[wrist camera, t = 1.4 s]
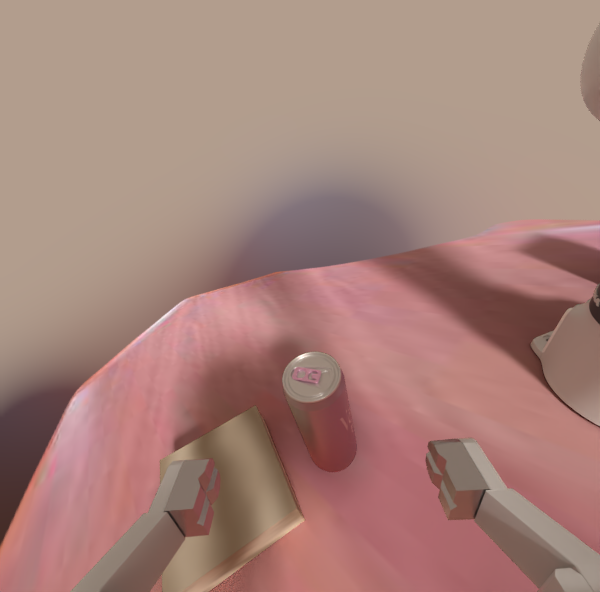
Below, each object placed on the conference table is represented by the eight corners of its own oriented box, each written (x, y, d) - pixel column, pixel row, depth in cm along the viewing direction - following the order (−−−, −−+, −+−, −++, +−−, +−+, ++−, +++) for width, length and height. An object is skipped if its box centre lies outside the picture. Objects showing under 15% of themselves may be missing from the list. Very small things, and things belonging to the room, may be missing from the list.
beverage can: (317, 419, 36) (292, 346, 27) (360, 429, 34) (348, 353, 25) (303, 466, 32) (269, 396, 23) (352, 481, 29) (334, 410, 21)
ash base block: (264, 420, 38) (255, 405, 35) (304, 520, 27) (296, 508, 25) (175, 473, 34) (159, 460, 32) (184, 609, 24) (162, 604, 22)
